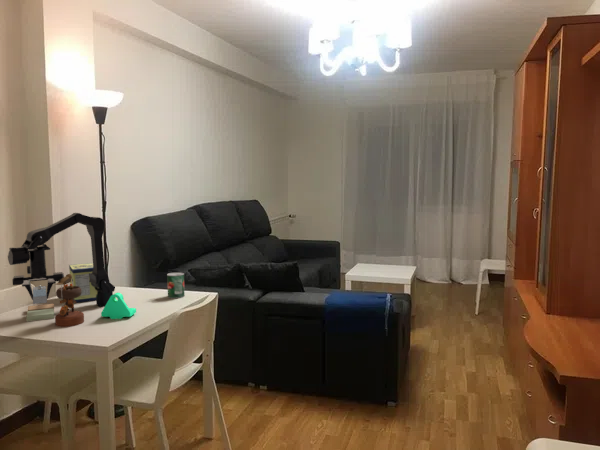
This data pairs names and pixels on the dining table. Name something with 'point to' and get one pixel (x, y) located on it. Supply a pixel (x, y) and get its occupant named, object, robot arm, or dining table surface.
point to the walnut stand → (40, 307)
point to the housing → (39, 294)
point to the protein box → (83, 281)
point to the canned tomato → (175, 285)
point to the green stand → (40, 314)
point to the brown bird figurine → (68, 304)
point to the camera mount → (117, 308)
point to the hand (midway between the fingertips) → (40, 299)
